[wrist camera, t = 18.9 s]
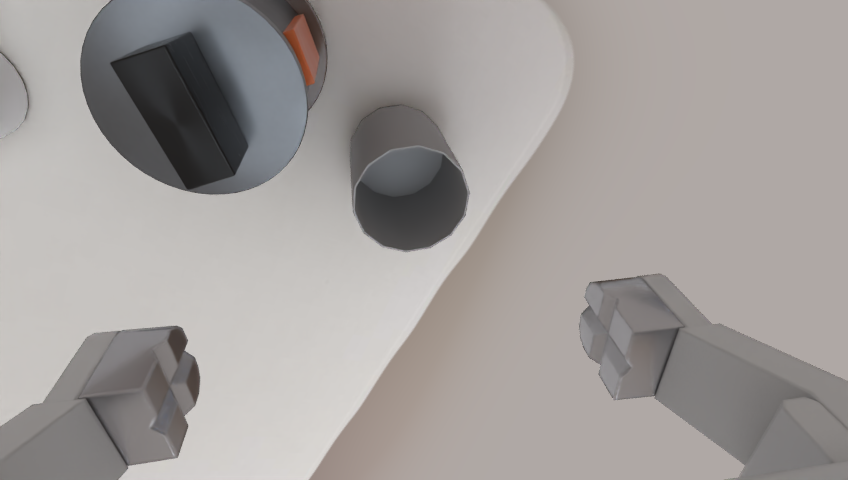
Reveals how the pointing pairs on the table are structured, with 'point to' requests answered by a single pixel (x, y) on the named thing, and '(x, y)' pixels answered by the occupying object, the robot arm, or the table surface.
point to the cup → (405, 180)
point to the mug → (11, 98)
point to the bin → (201, 88)
